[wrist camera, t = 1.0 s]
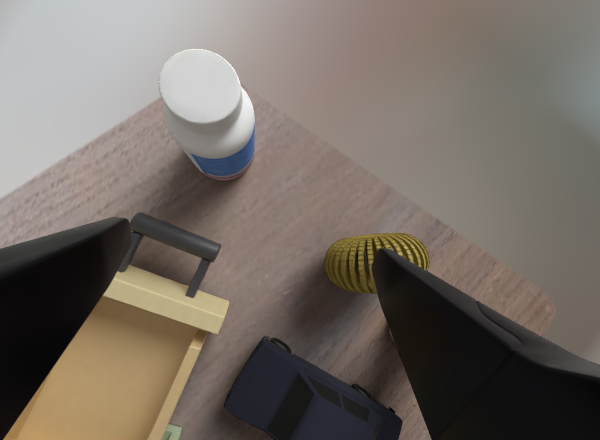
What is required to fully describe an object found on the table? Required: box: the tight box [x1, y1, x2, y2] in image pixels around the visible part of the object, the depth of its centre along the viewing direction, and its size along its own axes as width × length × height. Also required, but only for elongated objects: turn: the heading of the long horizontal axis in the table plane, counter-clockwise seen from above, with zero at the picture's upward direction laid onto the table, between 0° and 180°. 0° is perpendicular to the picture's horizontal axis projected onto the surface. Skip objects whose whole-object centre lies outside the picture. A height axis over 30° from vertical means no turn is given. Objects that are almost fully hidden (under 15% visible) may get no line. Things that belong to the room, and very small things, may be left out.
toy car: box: [224, 336, 402, 440], centre depth 20 cm, size 6×15×5 cm, turn 57°
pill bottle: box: [159, 49, 255, 180], centre depth 17 cm, size 6×5×10 cm
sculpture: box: [324, 233, 430, 294], centre depth 20 cm, size 8×4×8 cm, turn 97°
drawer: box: [3, 212, 230, 440], centre depth 17 cm, size 18×11×4 cm, turn 157°
